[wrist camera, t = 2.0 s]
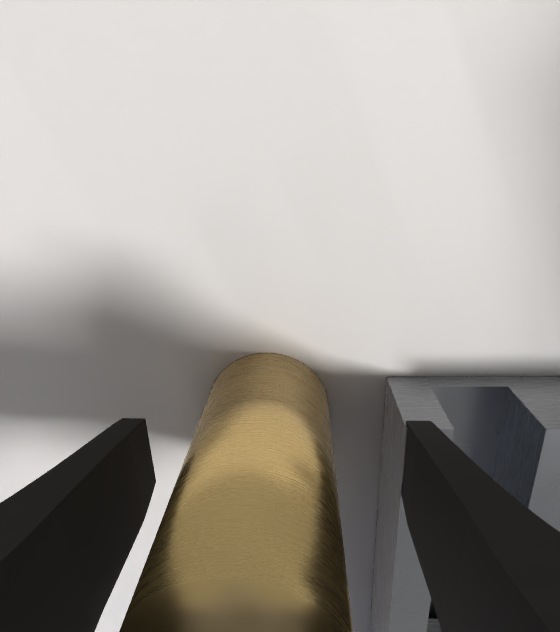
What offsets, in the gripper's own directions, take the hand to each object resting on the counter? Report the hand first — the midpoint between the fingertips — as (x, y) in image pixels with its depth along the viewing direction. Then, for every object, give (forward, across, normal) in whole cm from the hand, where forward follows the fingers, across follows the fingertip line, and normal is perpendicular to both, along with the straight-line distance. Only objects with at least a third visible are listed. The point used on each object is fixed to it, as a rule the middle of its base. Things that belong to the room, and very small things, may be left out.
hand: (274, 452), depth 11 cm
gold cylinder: (+2, 0, 0) cm, 2 cm away
